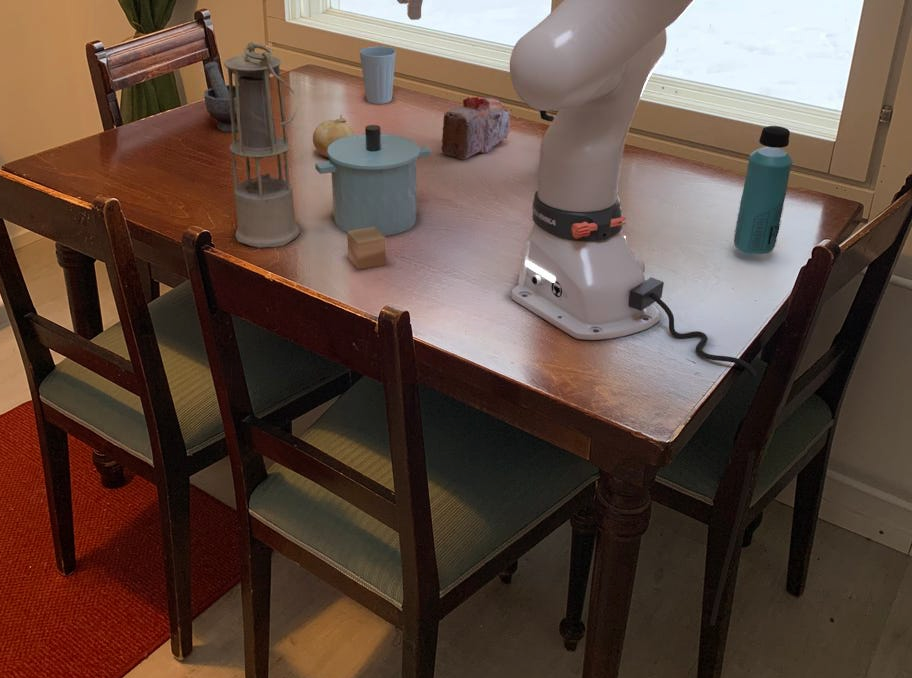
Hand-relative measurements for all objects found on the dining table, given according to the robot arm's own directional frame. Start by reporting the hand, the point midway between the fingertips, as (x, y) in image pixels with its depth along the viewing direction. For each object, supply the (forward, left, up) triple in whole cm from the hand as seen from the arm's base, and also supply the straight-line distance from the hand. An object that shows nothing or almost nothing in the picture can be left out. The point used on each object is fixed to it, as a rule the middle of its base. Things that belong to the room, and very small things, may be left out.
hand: (408, 10), depth 150 cm
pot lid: (+1, +6, -21) cm, 22 cm away
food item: (+24, -24, -33) cm, 47 cm away
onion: (+32, +2, -33) cm, 46 cm away
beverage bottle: (-35, -43, -33) cm, 65 cm away
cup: (+59, -18, -33) cm, 70 cm away
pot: (+1, +6, -33) cm, 33 cm away
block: (-13, +13, -33) cm, 38 cm away
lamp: (+1, +23, -33) cm, 41 cm away
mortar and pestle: (+56, +16, -33) cm, 67 cm away
